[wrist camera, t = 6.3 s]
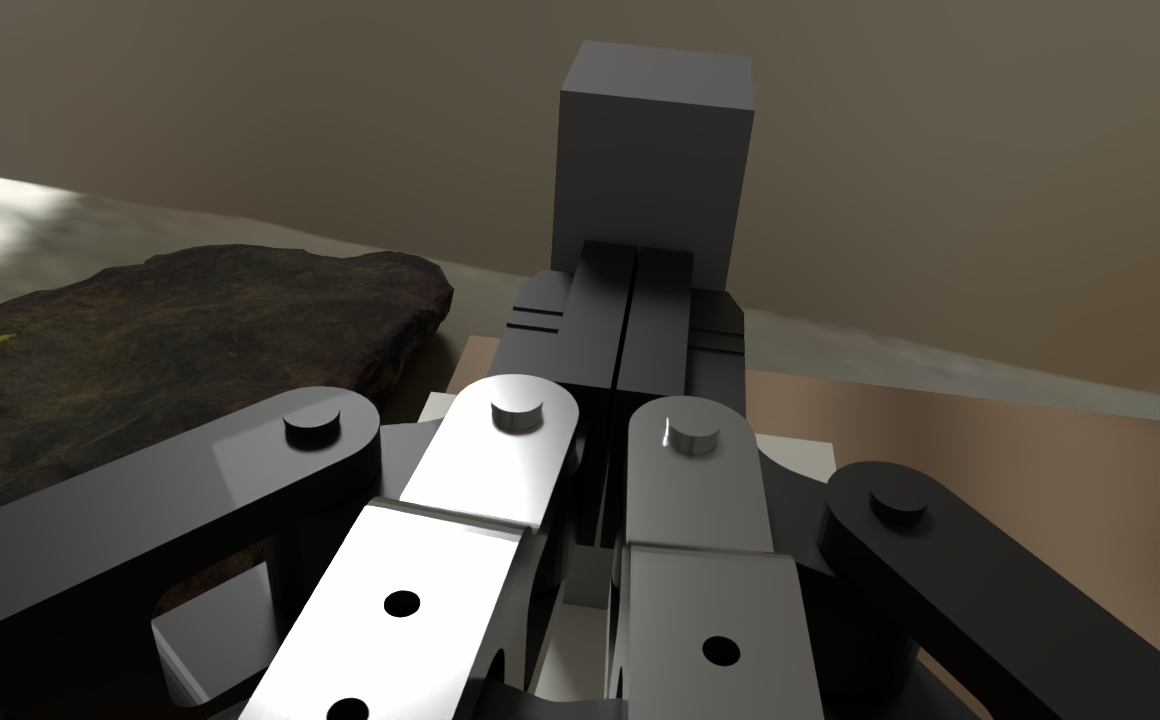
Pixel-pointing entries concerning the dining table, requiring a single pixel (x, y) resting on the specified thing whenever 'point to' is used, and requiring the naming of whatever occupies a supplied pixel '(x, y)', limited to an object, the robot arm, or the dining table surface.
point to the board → (985, 473)
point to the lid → (652, 219)
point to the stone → (197, 355)
